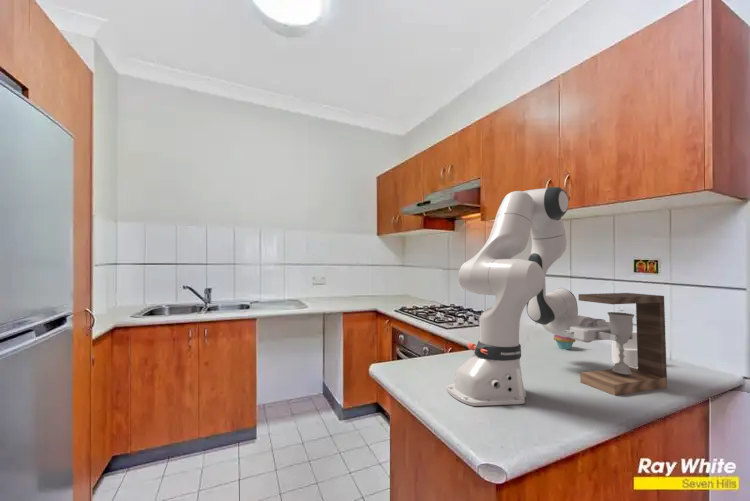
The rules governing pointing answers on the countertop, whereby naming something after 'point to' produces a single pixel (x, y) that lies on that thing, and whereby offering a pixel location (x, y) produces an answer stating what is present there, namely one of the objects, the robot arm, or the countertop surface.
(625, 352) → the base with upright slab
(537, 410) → the countertop surface
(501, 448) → the countertop surface
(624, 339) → the chalice
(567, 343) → the cupcake
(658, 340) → the wooden c-shaped stand
